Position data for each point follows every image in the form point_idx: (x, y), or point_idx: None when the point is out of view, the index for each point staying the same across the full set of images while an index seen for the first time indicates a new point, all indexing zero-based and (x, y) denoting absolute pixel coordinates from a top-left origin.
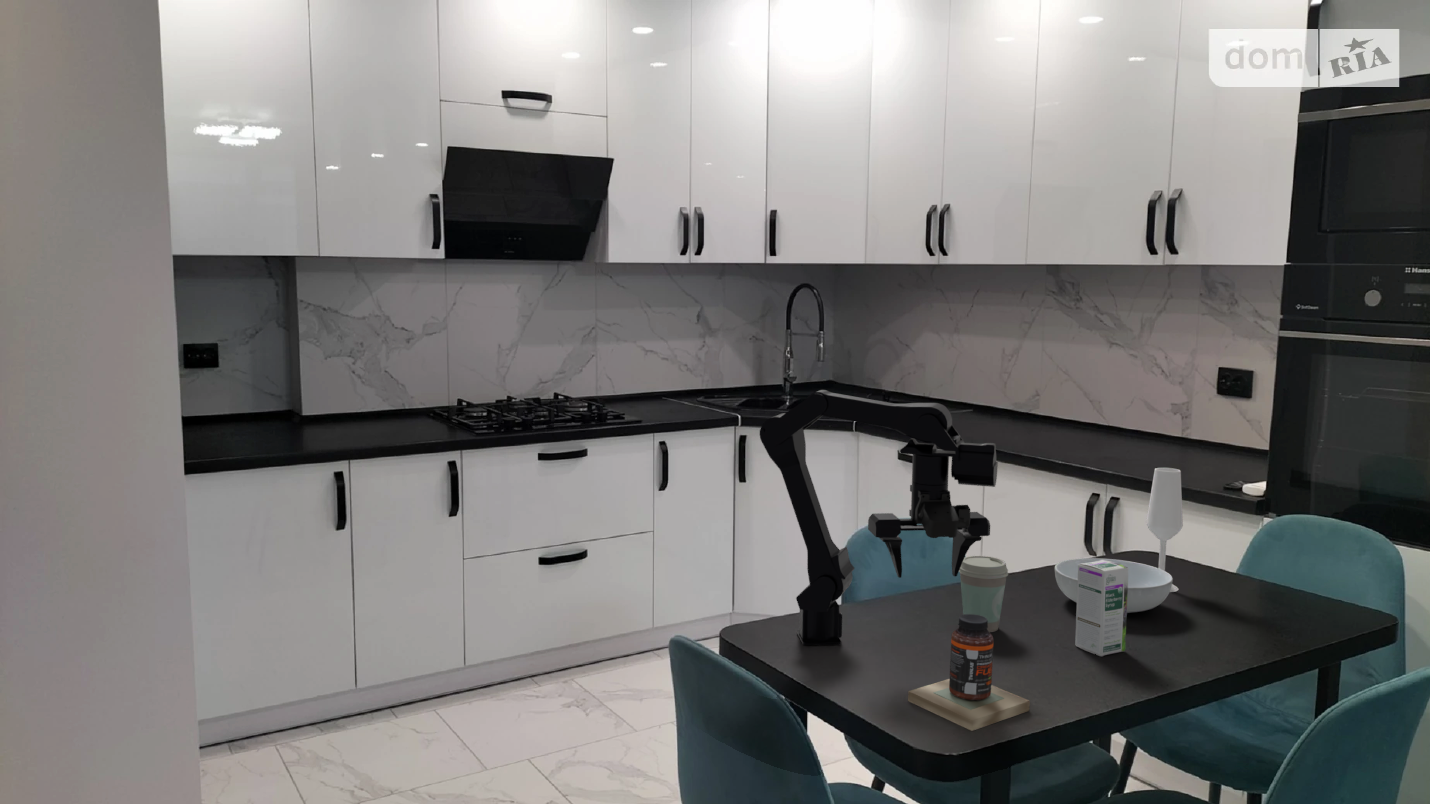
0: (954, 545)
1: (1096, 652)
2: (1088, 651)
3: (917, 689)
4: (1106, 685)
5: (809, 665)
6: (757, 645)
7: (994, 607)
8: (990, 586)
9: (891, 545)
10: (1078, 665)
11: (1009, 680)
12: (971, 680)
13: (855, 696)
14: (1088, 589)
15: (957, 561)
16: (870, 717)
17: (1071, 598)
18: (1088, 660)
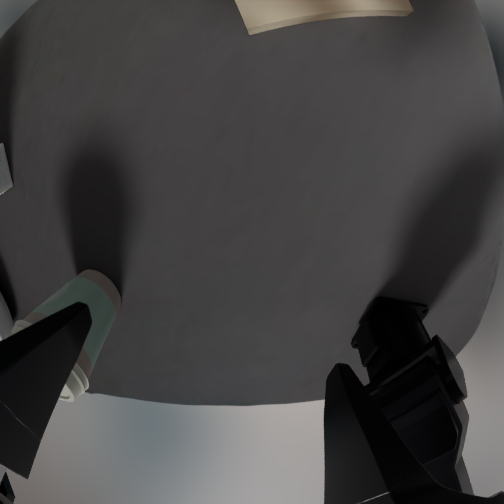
0: (31, 423)
1: (2, 150)
2: (7, 163)
3: (394, 6)
4: (39, 35)
5: (469, 231)
6: (465, 319)
7: (62, 290)
8: (44, 316)
9: (458, 494)
10: (29, 109)
11: (149, 40)
12: None
13: (473, 82)
14: None
15: (37, 341)
16: (474, 16)
17: (4, 304)
18: (15, 130)
